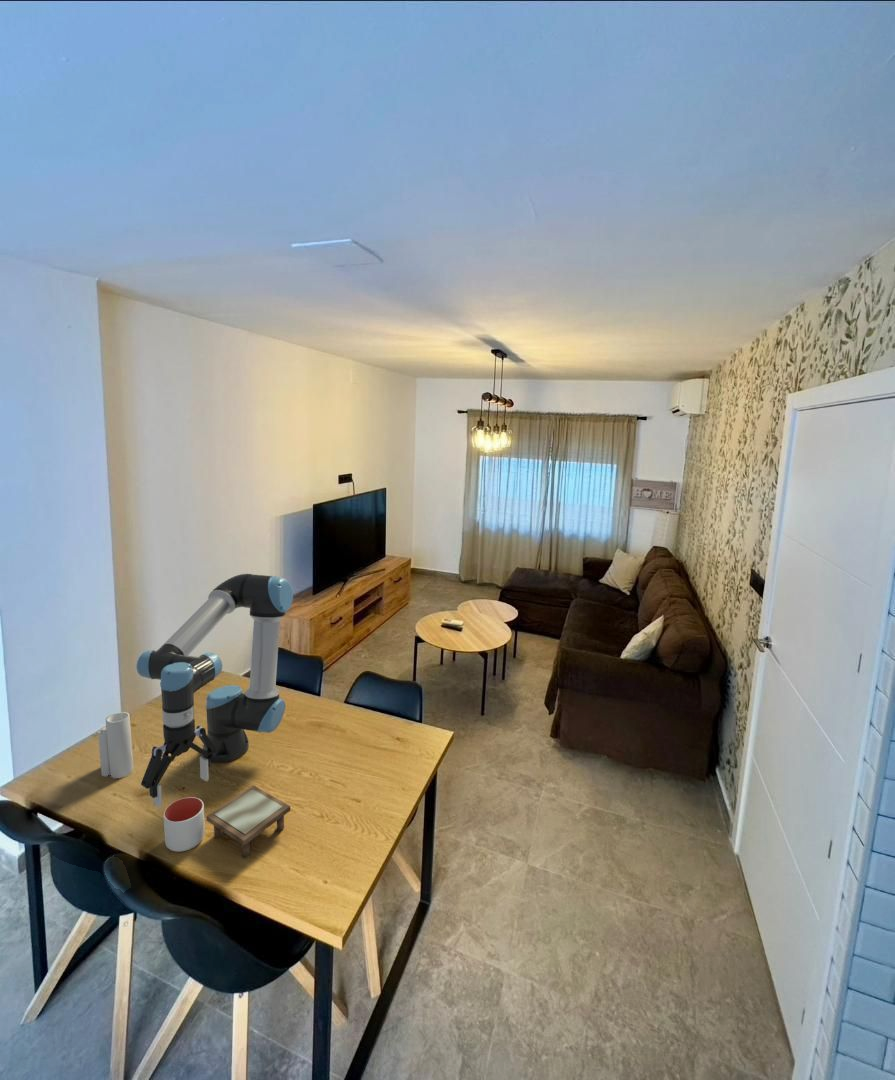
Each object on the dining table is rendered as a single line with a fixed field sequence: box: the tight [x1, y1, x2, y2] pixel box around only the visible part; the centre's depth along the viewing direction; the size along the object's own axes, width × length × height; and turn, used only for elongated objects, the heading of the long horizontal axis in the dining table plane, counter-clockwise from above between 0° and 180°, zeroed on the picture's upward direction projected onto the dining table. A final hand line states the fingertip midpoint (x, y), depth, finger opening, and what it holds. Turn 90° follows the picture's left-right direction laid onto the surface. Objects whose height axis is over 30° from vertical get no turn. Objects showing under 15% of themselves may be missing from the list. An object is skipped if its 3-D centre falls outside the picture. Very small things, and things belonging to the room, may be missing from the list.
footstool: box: [206, 785, 291, 859], centre depth 151 cm, size 16×16×7 cm
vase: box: [97, 711, 134, 779], centre depth 173 cm, size 11×7×20 cm, turn 72°
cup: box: [163, 796, 206, 853], centre depth 147 cm, size 10×10×10 cm
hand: (182, 791), depth 144 cm, fingers open, 13 cm apart
